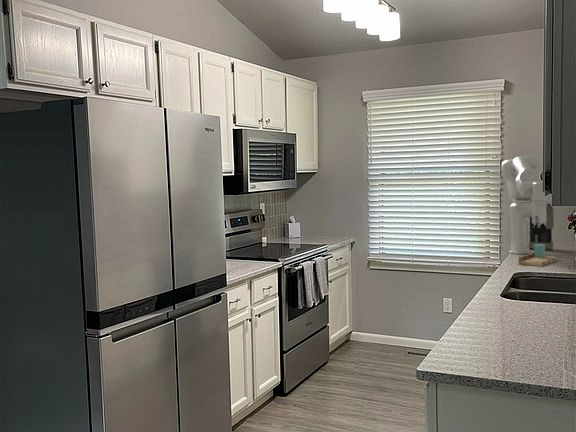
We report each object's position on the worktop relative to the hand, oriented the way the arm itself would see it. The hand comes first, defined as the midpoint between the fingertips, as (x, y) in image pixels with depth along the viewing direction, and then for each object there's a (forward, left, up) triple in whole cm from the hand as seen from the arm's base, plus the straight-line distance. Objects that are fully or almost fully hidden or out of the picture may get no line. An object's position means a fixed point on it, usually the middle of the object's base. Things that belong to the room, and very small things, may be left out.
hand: (539, 234), depth 316 cm
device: (-43, -15, -15) cm, 48 cm away
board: (+7, +1, -15) cm, 17 cm away
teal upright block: (0, 0, -13) cm, 13 cm away
